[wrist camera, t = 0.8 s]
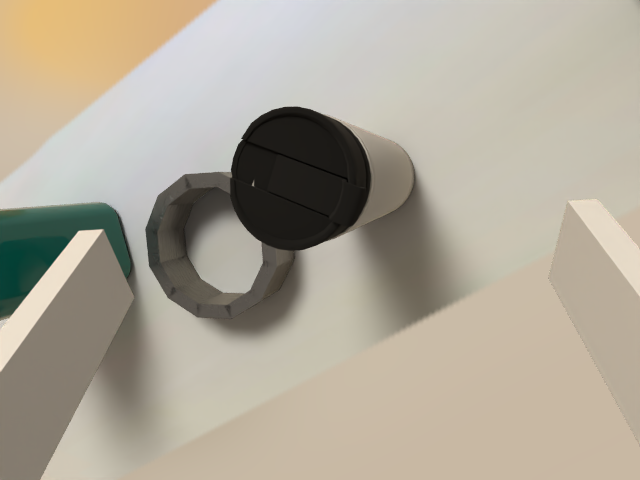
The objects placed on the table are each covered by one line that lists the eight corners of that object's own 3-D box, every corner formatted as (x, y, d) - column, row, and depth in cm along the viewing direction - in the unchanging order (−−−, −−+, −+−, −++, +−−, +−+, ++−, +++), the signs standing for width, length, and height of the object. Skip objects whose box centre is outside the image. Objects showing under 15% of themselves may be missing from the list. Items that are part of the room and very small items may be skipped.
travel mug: (402, 227, 38) (333, 280, 19) (329, 199, 40) (200, 222, 21) (430, 154, 37) (386, 133, 18) (354, 128, 38) (238, 83, 19)
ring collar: (289, 169, 40) (270, 168, 37) (297, 307, 42) (280, 320, 38) (168, 177, 44) (140, 177, 41) (180, 303, 46) (154, 315, 42)
